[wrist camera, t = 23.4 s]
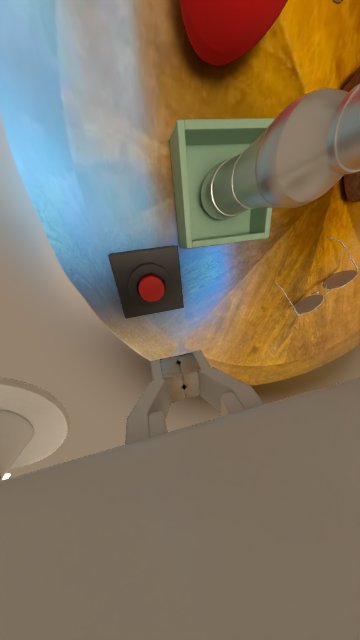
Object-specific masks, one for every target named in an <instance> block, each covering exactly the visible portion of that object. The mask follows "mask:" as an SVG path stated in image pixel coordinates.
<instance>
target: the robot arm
mask: <svg viewBox="0 0 360 640" xmlns="http://www.w3.org/2000/svg"><path fill="white" fill-rule="evenodd" d="M151 369H152V379H153V382H150V384H149V385H148V387H147V388H146V390H145V391H144V393H143V394H142V396H141V397H140V399H139V400H138V402H137V404H136V405H135V407H134V408H133V410H132V411H131V413H130V415H129V416H128V418H127V425H126V442H125V445H123V446H119V447H116V448H112V449H109V450H106V451H102V452H99V453H96V454H92V455H88V456H85V457H82V458H78V459H75V460H71V461H68V462H64V463H61V464H57V465H54V466H51V467H47V468H43V469H40V470H37V471H33V472H30V473H27V474H23V475H19V476H16V477H12V478H9V476H10V474H6V473H7V472H8V470H9V469H10V467H11V466H12V464H13V463H14V461H15V460H16V459H17V458H18V457H19V456H20V454H21V452H22V450H23V449H24V448H25V446H26V445H27V444H28V443H29V442H30V440H31V439H32V437H33V434H34V431H33V427H32V425H31V424H30V423H29V421H27V420H26V419H25V418H23V417H22V416H20V415H18V414H15V413H13V412H9V411H5V410H0V640H360V377H358V378H355V379H351V380H348V381H344V382H341V383H337V384H334V385H330V386H327V387H324V388H320V389H317V390H313V391H310V392H306V393H303V394H299V395H296V396H292V397H289V398H286V399H282V400H278V401H275V402H272V403H268V404H264V403H263V401H262V400H261V399H260V398H259V396H258V395H257V394H256V392H255V391H254V390H253V388H252V387H251V386H250V385H248V384H246V383H244V382H242V381H240V380H238V379H236V378H234V377H232V376H230V375H228V374H226V373H224V372H222V371H220V370H218V369H216V368H214V367H210V365H209V364H208V362H207V360H206V358H205V357H204V355H203V353H202V351H201V350H199V351H195V352H192V353H187V354H183V355H179V356H173V357H168V358H163V359H160V360H154V361H151ZM199 395H200V396H201V397H202V398H203V399H205V400H206V401H207V402H209V403H210V404H211V405H212V406H213V407H214V408H216V409H217V410H218V411H219V412H220V413H221V417H220V418H217V419H213V420H209V421H206V422H203V423H199V424H195V425H192V426H189V427H185V428H182V429H178V430H175V431H171V432H168V430H167V426H166V421H165V419H166V416H167V413H168V411H169V408H170V405H171V403H173V402H176V401H180V400H183V399H186V398H191V397H195V396H199ZM8 478H9V479H8ZM3 479H5V480H3Z"/></svg>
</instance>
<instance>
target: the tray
mask: <svg viewBox="0 0 360 640" xmlns="http://www.w3.org/2000/svg"><path fill="white" fill-rule="evenodd" d="M274 120H275V118H271V119H189V120H177V122H176V124H175V127H174V130H173V132H172V135H171V138H170V141H169V144H170V155H171V165H172V175H173V186H174V196H175V207H176V217H177V227H178V238H179V247H183V248H187V249H188V248H196V247H203V246H211V245H218V244H226V243H233V242H241V241H248V240H256V239H263V238H269V231H270V222H271V213H272V208H267V207H263V208H256V209H250V210H248V211H245V212H242V213H241V214H239V215H238V216H236V217H234V218H231V219H228V220H220V219H216V218H213V217H211V216H210V215H209V214H208V213H207V212H206V211H205V209H204V207H203V205H202V201H201V188H202V185H203V182H204V180H205V178H206V176H207V175H208V173H209V172H210V170H211V169H212V168H213V167H214V166H215V165H217V164H218V163H220V162H222V161H225V160H227V159H231V158H233V157H235V156H237V155H239V154H241V153H242V152H243V151H244V150H246V149H247V148H248V147H249V146H250V145H251V144H252V143H254V142H255V141H256V140H257V139H258V138H259V136H260V135H261V134H262V133H263V132H264V131H265V130H266V129H267V127H268V126H269V125H270V124H271V123H272V122H273V121H274Z"/></svg>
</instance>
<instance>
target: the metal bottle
mask: <svg viewBox="0 0 360 640" xmlns="http://www.w3.org/2000/svg"><path fill="white" fill-rule="evenodd" d="M358 171H360V84H358V85H357V86H355V87H354V88H353V89H352V90H351V91H350V92H347V91H344V90H339V89H332V88H323V89H320V90H317V91H314V92H311V93H308V94H306V95H303V96H301V97H299V98H298V99H296V100H295V101H293V102H292V103H291V104H290V105H289V106H288V107H287V108H286V109H285V110H284V111H282V112H281V113H280V114H279V115H278V116H277V117H276V118H275V120H274V121H273V122H272V123H271V124H270V125H269V126H268V127H267V129H266V130H265V131H264V132H263V133H262V134H261V135H260V136H259V138H258V139H257V140H256V141H255V142H254V143H252V144H251V145H250V146H249V147H248V148H247V149H246V150H244V151H243V152H242V153H241V154H239V155H237V156H235V157H233V158H231V159H227V160H225V161H222V162H220V163H218V164H217V165H215V166H214V167H213V168H212V169H211V170H210V172H209V173H208V175H207V176H206V178H205V180H204V182H203V185H202V188H201V201H202V205H203V207H204V209H205V211H206V212H207V213H208V214H209V215H210V216H211V217H213V218H216V219H220V220H228V219H231V218H234V217H236V216H238V215H239V214H241V213H242V212H245V211H248V210H250V209H256V208H263V207H267V208H293V207H300V206H303V205H305V204H308V203H310V202H311V201H313V200H315V199H317V198H319V197H320V196H322V195H323V194H325V193H326V192H327V191H328V190H329V189H330V188H331V187H332V186H333V185H335V184H336V183H337V182H338V181H339V180H340V179H341V178H342V176H343V175H345V174H352V173H355V172H358Z"/></svg>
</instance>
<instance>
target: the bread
mask: <svg viewBox="0 0 360 640" xmlns="http://www.w3.org/2000/svg"><path fill="white" fill-rule="evenodd" d="M358 84H360V67H359V69H358V70H357V71H356V73H355V74H354V76H353V77H352V79H351V80H350V81H349V82H348V83H347V84H346V85H345V86H344V88H343V90H344V91H347V92H350V91H351V90H352V89H353V88H354V87H355V86H357V85H358ZM344 187H345V192H346V196H347V199H348V200H349V201H352V202H357V201H360V171H358V172H355V173H352V174H345V175H344Z"/></svg>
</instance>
